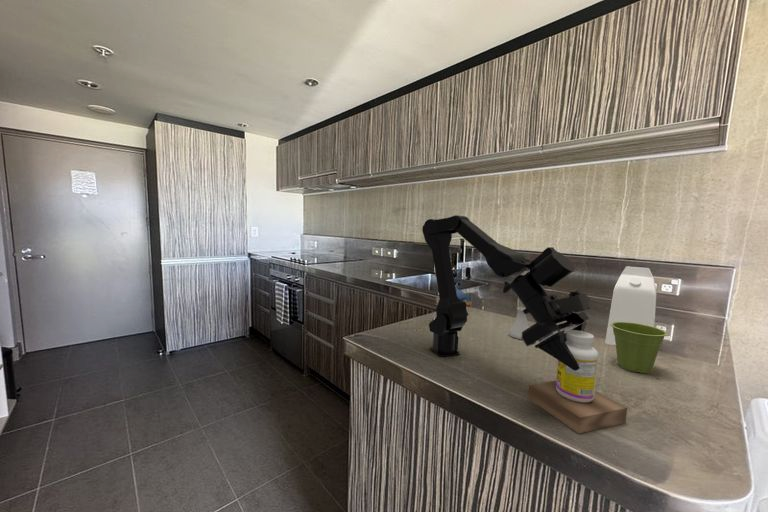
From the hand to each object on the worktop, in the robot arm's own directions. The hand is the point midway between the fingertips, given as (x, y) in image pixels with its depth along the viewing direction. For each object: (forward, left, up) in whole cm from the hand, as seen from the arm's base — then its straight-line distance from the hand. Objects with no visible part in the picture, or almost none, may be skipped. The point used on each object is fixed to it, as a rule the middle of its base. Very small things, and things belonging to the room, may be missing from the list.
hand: (585, 365), depth 60 cm
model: (+27, +85, -10) cm, 90 cm away
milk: (+55, +26, -10) cm, 61 cm away
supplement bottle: (0, +1, -7) cm, 7 cm away
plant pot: (+35, +12, -10) cm, 38 cm away
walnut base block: (0, +1, -10) cm, 10 cm away
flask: (+22, +40, -10) cm, 47 cm away
